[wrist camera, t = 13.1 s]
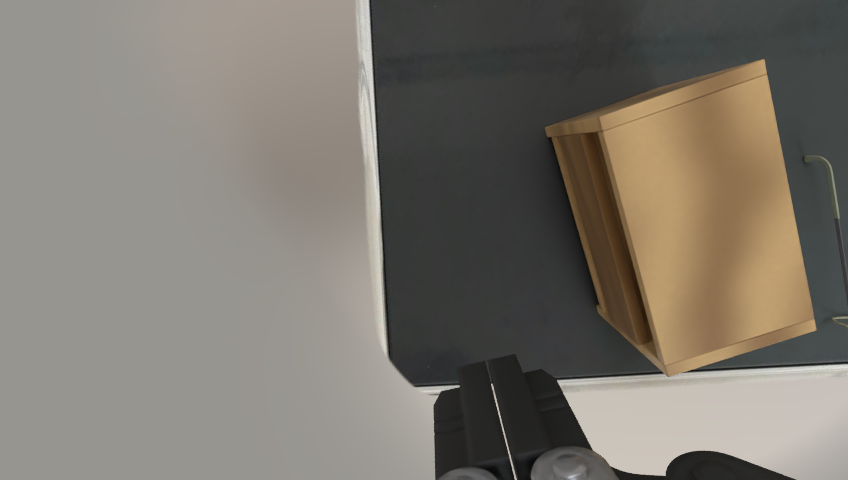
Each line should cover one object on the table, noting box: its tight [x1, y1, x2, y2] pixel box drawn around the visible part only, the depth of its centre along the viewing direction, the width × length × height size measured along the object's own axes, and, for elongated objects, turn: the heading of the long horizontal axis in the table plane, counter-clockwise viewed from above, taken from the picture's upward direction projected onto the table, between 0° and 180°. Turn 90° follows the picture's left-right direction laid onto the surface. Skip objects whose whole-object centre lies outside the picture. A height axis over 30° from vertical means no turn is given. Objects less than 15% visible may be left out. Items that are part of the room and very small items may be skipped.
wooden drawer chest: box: [545, 59, 816, 377], centre depth 31 cm, size 9×16×11 cm, turn 19°
